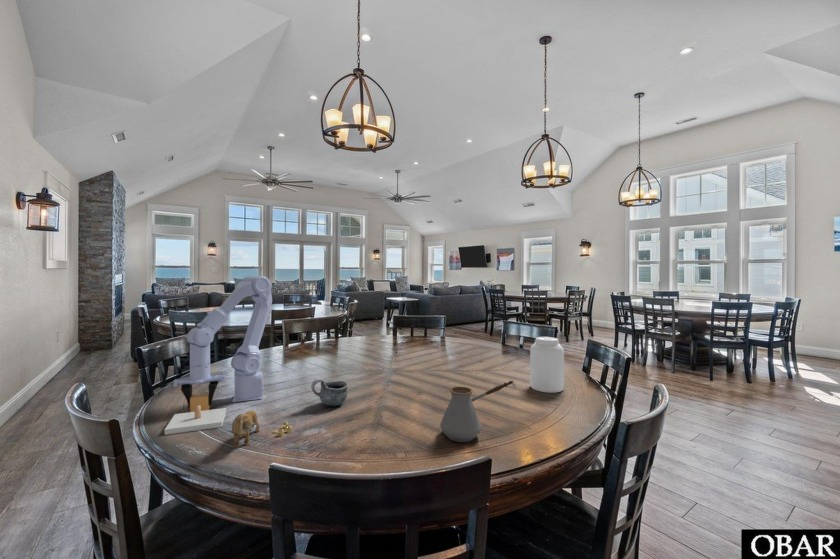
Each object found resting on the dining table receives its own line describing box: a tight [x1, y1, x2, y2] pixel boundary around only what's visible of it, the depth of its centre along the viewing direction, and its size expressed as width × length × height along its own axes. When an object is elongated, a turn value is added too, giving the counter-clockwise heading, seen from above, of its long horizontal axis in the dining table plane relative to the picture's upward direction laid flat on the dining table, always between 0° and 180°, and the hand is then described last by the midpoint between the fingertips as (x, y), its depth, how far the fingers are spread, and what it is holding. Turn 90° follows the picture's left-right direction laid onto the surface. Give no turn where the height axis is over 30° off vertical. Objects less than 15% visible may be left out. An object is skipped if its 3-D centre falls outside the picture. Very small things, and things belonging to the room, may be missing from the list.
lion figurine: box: [231, 410, 261, 448], centre depth 99 cm, size 15×5×9 cm, turn 15°
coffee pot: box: [439, 380, 517, 443], centre depth 103 cm, size 21×12×15 cm, turn 97°
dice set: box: [272, 422, 293, 437], centre depth 104 cm, size 5×5×2 cm
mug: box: [310, 377, 349, 407], centre depth 125 cm, size 10×12×10 cm
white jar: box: [529, 336, 565, 394], centre depth 145 cm, size 12×12×20 cm
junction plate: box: [164, 405, 227, 436], centre depth 110 cm, size 14×12×5 cm
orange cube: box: [189, 391, 211, 412], centre depth 120 cm, size 5×5×5 cm
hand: (200, 405), depth 120 cm, fingers closed on orange cube, 5 cm apart
